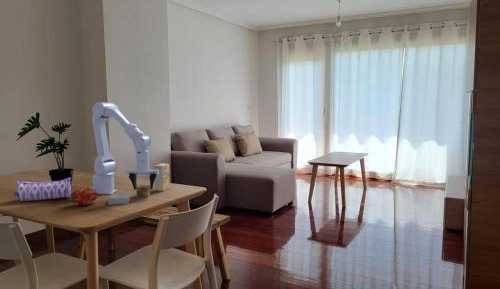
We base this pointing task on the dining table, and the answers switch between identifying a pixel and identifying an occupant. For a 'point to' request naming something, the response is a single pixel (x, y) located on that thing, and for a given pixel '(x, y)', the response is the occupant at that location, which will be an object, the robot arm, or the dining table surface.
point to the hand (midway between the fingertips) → (143, 189)
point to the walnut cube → (143, 191)
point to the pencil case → (43, 190)
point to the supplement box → (162, 177)
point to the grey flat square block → (119, 199)
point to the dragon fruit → (84, 196)
